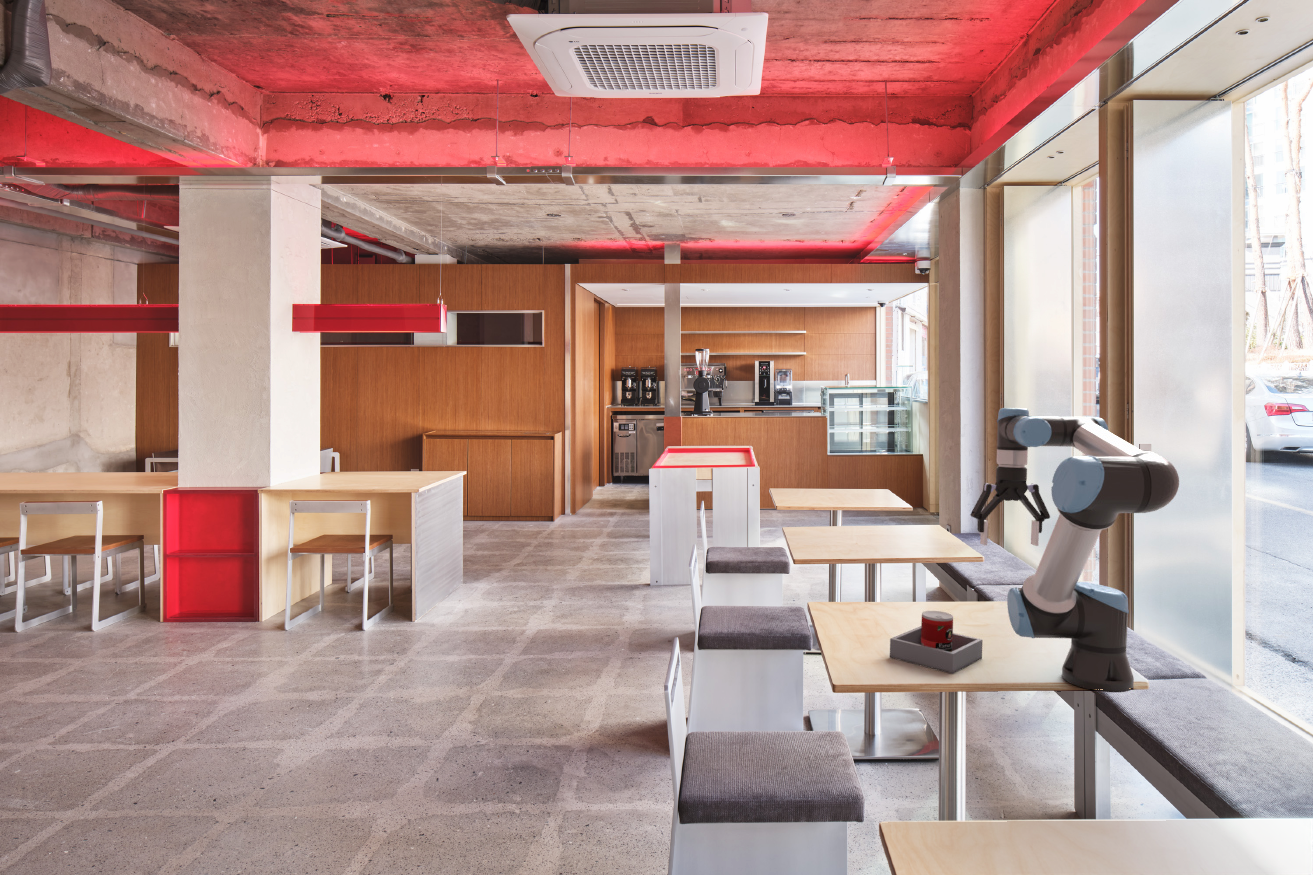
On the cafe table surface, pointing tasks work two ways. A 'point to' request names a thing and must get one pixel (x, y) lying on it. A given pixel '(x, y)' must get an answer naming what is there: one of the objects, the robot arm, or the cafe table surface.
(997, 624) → the cafe table surface
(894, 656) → the box
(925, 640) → the canned food
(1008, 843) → the cafe table surface
